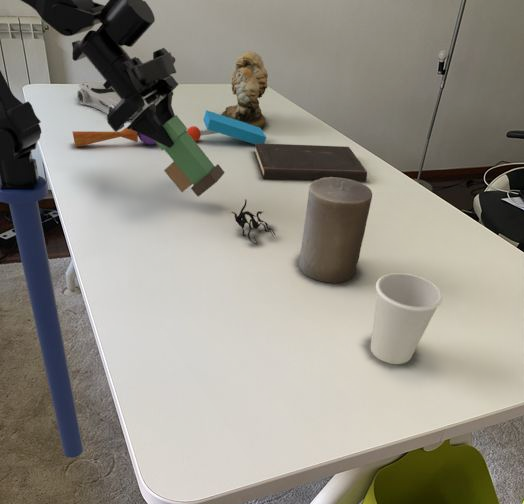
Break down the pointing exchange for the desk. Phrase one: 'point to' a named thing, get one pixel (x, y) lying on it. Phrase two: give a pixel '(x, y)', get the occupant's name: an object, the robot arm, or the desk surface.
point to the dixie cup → (402, 315)
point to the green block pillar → (188, 160)
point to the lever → (228, 128)
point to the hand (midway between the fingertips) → (176, 142)
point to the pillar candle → (334, 228)
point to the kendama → (108, 137)
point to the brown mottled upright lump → (248, 90)
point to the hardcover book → (308, 162)
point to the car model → (97, 96)
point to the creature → (242, 220)
